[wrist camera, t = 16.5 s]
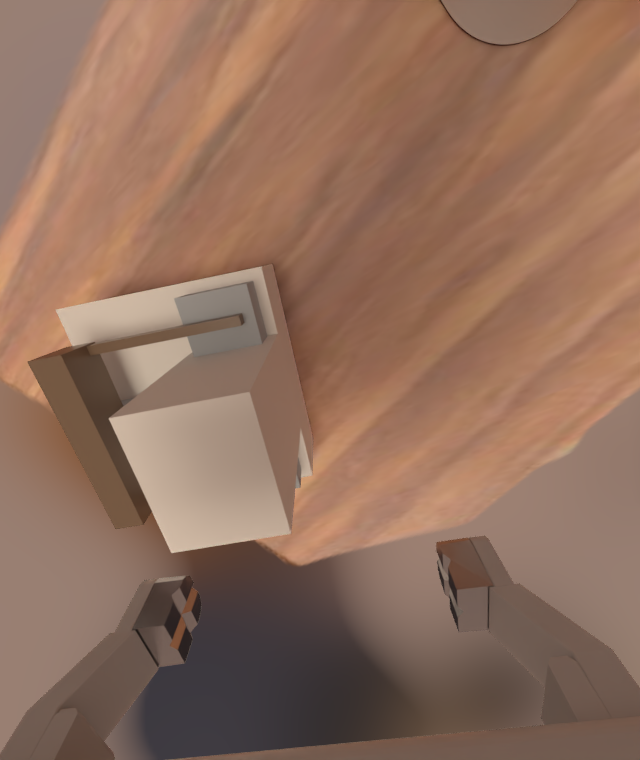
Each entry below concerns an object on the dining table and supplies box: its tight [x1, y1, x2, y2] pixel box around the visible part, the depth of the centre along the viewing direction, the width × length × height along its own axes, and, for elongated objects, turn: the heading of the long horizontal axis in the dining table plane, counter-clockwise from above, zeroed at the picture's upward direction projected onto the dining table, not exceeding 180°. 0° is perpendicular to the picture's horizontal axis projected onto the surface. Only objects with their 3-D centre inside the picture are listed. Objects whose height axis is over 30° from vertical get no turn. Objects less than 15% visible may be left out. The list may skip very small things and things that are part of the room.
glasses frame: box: [28, 313, 245, 529], centre depth 29 cm, size 16×15×4 cm
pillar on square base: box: [56, 264, 313, 553], centre depth 31 cm, size 22×19×22 cm
